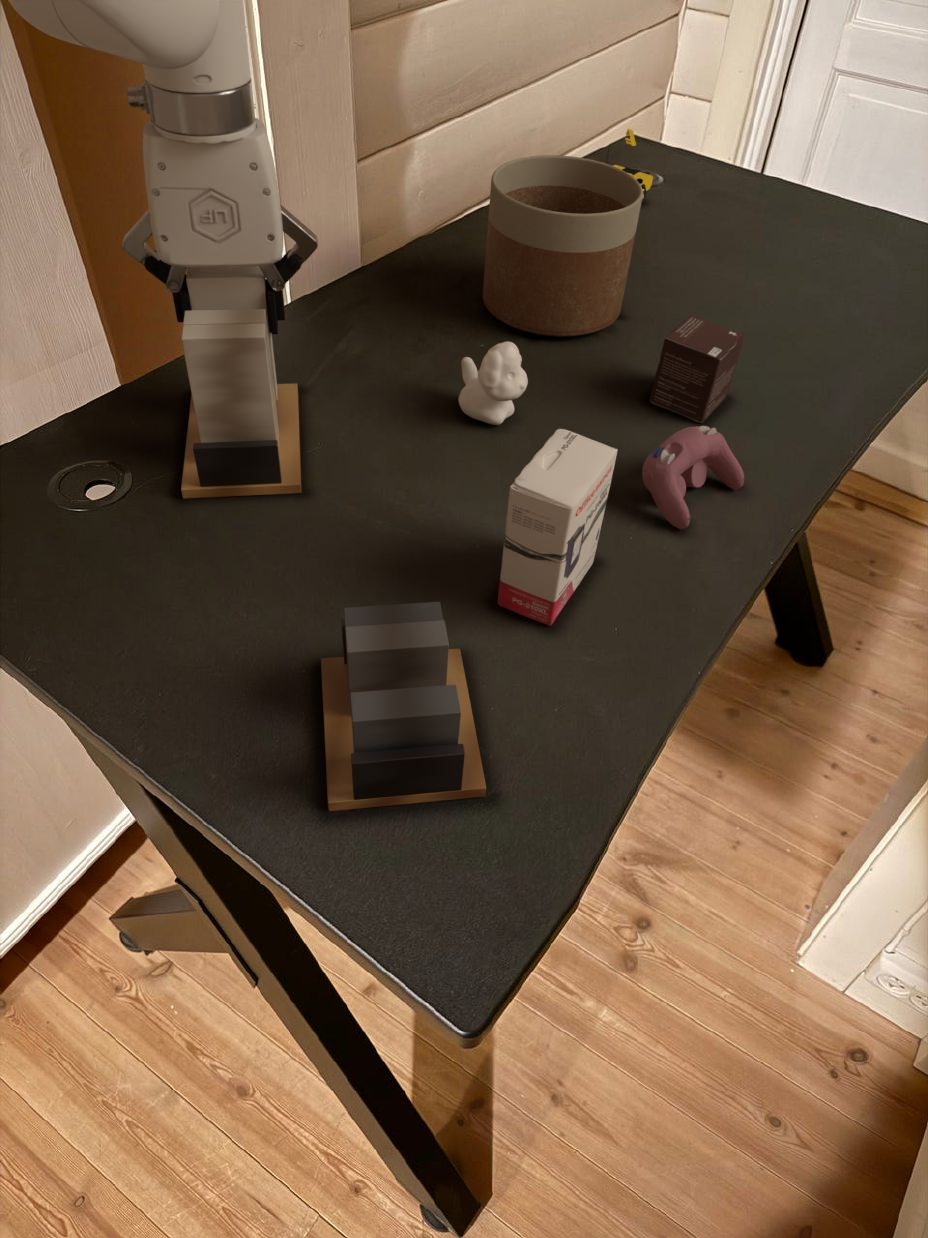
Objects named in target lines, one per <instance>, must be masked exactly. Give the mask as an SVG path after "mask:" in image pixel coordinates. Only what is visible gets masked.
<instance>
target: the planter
mask: <svg viewBox="0 0 928 1238" xmlns="http://www.w3.org/2000/svg"><path fill="white" fill-rule="evenodd" d="M490 179H491V180H490V191H489V192H490V194H489V203H488V206H489V208H488V216H487V217H488V220H487V230H486V231H487V233H486V245H485V247H486V248H485V259H484V272H483V273H484V274H483V285H482V286H483V287H482V301H483V304H484V306H485V308H486V309H487V310H488V312H489V313H490V314H492V316H494V317H495V318H496V319H498V320H499V321H501V323H504V324H506V325H508V326H510V327H512V328H515V329H517V330H520V331H523V332H526V333H529V334H534V335H539V336H547V337H558V338H559V337H560V338H561V337H562V338H566V337H578V336H585V335H590V334H593V333H597V332H600V331H601V330H604V329H605V328H608V327H609V326H611V325H612V324H613V323H615V321H616V320H617V319H618V318H619V316H620V314H621V311H622V305H623V301H624V297H625V296H624V294H625V290H626V286H627V281H628V275H629V269H630V264H631V260H632V254H633V248H634V243H635V239H636V235H637V234H636V232H637V227H638V223H639V217H640V213H641V207H642V203H643V201H642V197H643V190H642V187H641V185H640V184H639V182H638V181H637V180H636V179H635V178H634V177H632V176H631V175H630V174H628V173H626V172H625V171H623V170H621V169H619V168H616V167H614V166H613V165H611V164H609V163H607V164H606V162H602V161H599V160H594V159H591V158H585V157H580V156H579V157H578V156H571V155H558V154H557V155H556V154H555V155H554V154H552V155H551V154H548V155H547V154H545V155H531V156H525V157H524V156H523V157H520V158H516V159H512V160H510V161H507V162H505V163H503V164H501V165H500V166H498V167H497V168H496V169H495V170H494V171H493V173H492V175H491V178H490ZM641 202H642V203H641Z"/></svg>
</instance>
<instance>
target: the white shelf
mask: <svg viewBox="0 0 928 1238" xmlns="http://www.w3.org/2000/svg"><path fill="white" fill-rule="evenodd" d="M180 339H181V344H182V350H183V356H184V362H185V366H186V371H187V372H186V373H187V377H188V382H189V387H190V388H189V389H190V392H191V396H190V405H189V415H188V422H187V424H188V425H187V432H186V439H185V440H186V442H185V448H184V449H185V450H184V457H183V458H184V459H183V467H182V478H181V484H180V485H181V486H180V492H181V497H182V499H202V498H224V497H225V498H226V497H245V496H247V497H249V496H268V495H269V496H270V495H288V494H289V495H291V494H301V493H302V492H303V491H302V465H301V440H300V438H301V437H300V436H301V435H300V405H299V386H298V383H296V382H295V383H293V382H292V383H277V400H276V399H275V390H274V382H273V373H272V364H271V355H270V346H269V337H268V328H267V319H266V310H265V309H245V310H192V311H185V315H184V322H182V330H181V338H180Z"/></svg>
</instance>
